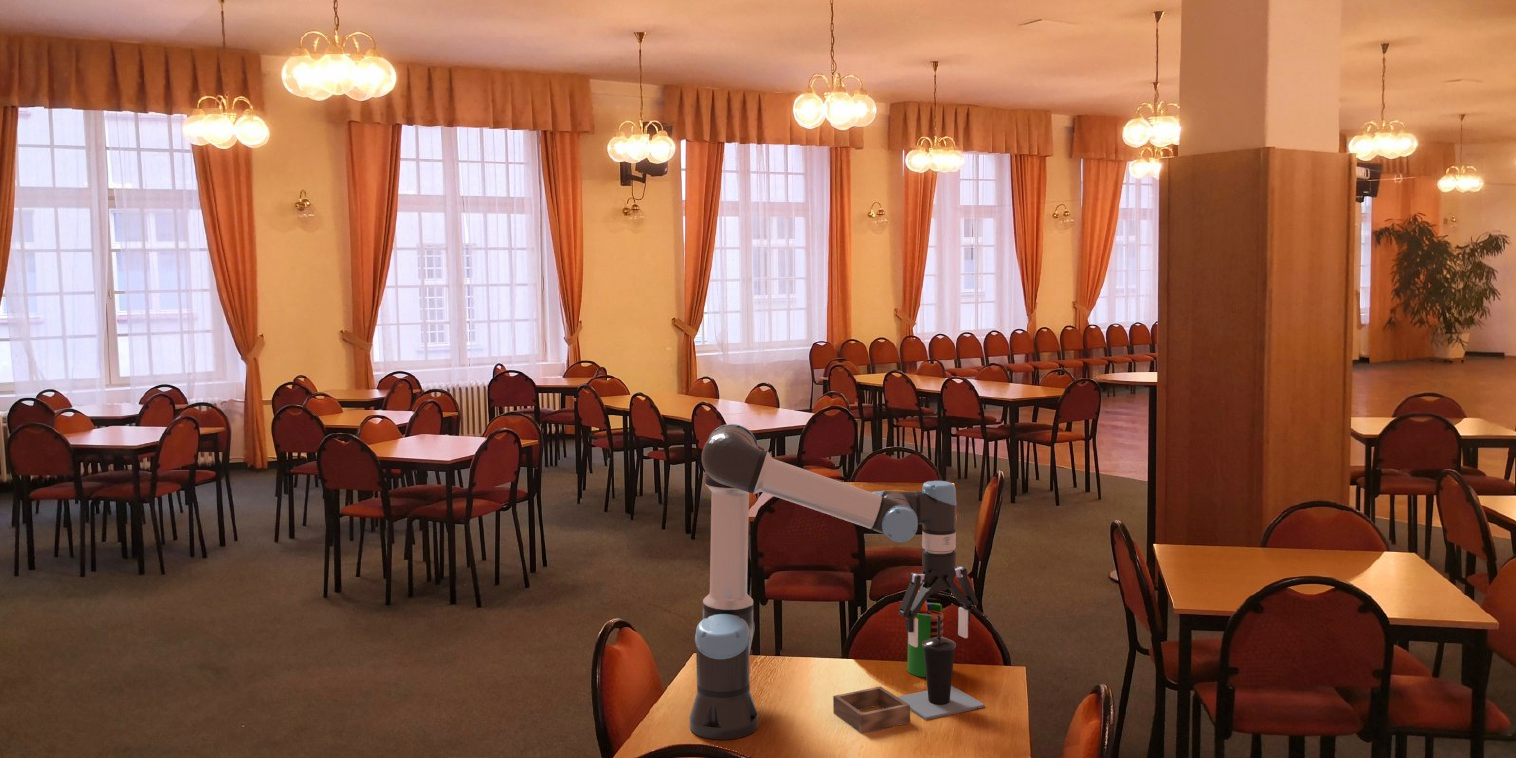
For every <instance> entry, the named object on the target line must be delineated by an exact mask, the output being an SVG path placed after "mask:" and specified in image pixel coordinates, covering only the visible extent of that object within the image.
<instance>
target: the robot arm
mask: <svg viewBox="0 0 1516 758" xmlns="http://www.w3.org/2000/svg"><path fill="white" fill-rule="evenodd" d="M701 463H702V467H703V469H704V472H705V473H704V484H705V486H706V487H707V488H708V490H710V492H711V500H710V501H711V505H710V507H711V510H710V511H711V514H710V562H709V564H710V567H709V593H708V595H706V596H705V597H704V598H703V599H702V620H701V621H700V622H698V624H697V626H696V629H695V636H694V643H695V648H696V649H695V652H696V654H695V655H696V656H695V657H696V658H695V659H696V661H695V662H696V663H695V664H696V665H695V666H696V694H695V695H696V696H695V698H694V702H693V704H692V708H691V711H690V715H689V729H690V731H691V732H692V733H693V734H694V735H697V736H699V737H702V738H704V739H708V740H709V739H710V740H719V741H721V740H734V739H738V738H742V737H746V736H749V735H751V734H752V733H754V732H755V731H756V730H757V729H758V728H759V713H758V710H757V708H756V704H755V702H754V699H753V696H752V693H751V683H750V681H751V680H750V679H751V677H750V671H751V670H750V669H751V668H750V655H751V653H750V652H751V647H752V642H753V638H754V635H755V622H754V599H753V598H752V597H751V596H750V595H749V594H748V566H749V565H748V562H749V561H748V560H749V520H750V519H749V511H750V494H751V495H755V494H758V493H763V494H767V495H770V496H773V497H775V498H779V499H781V500H784V501H788V502H790V503H794V504H796V505H799V506H802V507H805V508H808V509H811V510H814V511H817V512H818V513H819V512H820V513H823V514H827V515H829V516H831V517H833V518H834V517H835V518H836V519H837V518H838V519H840V520H844V521H846V522H848V523H849V522H850V523H852V524H855V525H857V526H860V527H861V526H862V527H864V528H867V529H869V530H873V531H875V532H878V533H880V534H883V535H885V537H886V538H888V539H889V540H891V541H892V542H895V543H905V542H908V541H910V540H911V539H912V538H913V537H914V536H915V535H916V533H917V531H918V526H919V525H922V537H921V540H922V541H921V547H922V549H923V550H922V553H921V554H922V555H921V556H922V557H921V558H922V559H921V560H922V561H921V564H922V569H923V570H922V573H916V572H911V573H910V579H909V582H908V583H909V584H908V587H907V588H906V591H905V594H904V596H903V598H902V601H901V603H900V606H899V608H898V611H897V613H898V615H900V616H902V617H904V618H905V630H906V632H907V645H908V644H910V645H912V646H913V647H918V618H916V617H915V616H916V615H917V613H918V612H919V610H920V609H921V607H922V606H923V604H924V603H925V601H927V600H928V598H929V597H930V596H931V595H932V594H933V593H934V592H940V591H949V592H950V593H951V594H952V595H953V597H954V598H955V600H956V601H957V602H958V603H959V604H960V606H959V607H958V613H957V615H958V620H957V621H958V623H957V624H958V626H957V636H960V637H962V638H964V639H968V638H969V623H970V622H971V611H973V610H974V609H975V608H974V606H978V605H979V601H978V599H977V596H976V593H975V592H974V590H973V587H972V584H971V583H970V581H969V578H968V570H967V568H966V567H963V566H960V565H957V567H956V564H957V558H956V557H957V556H956V555H957V552H956V551H955V550H956V548H957V547H956V546H957V543H956V541H957V534H956V533H957V505H958V503H957V488H956V486H955V484H953V483H952V482H950V481H946V480H928V481H926V482H923V485H922V488H921V490H918V491H917V490H916V491H915V490H910V491H909V490H907V491H905V490H878V491H872V492H871V491H868V490H865V489H863V488H860V487H856V486H854V485H851V484H849V483H848V484H847V483H845V482H842V481H839V480H836V479H834V478H831V477H827V476H824V475H822V474H819V473H816V472H813V471H810V470H807V469H805V468H801V467H798V466H796V465H792V464H789V463H786V462H784V461H781V460H778V459H775V458H773V457H772V456H771V454H770V452H769V451H766V450H763V449H761V448H759V444H758V441H757V439H756V436H755V435H754V434H753V432H752V431H750V430H749V429H748V427H745V426H744V425H740V424H737V423H728V424H727V423H726V424H723V425H720V426H718V427H717V428H715V429H714V430H713V431H712V432H711V433H710V434H709V437H708V438H707V441H706V442H705V444H704V446H703V449H702V451H701ZM955 577H957V581H958V582H959V584H960V587H961V589H962V591H963V593H962V591H961V590H960V589H959V588H958V586H957V584H956V583H955V581H954V579H955ZM918 590H920V591H919V592H918ZM917 593H918V594H917ZM908 632H909V633H908Z"/></svg>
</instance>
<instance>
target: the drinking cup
mask: <svg viewBox="0 0 1516 758" xmlns="http://www.w3.org/2000/svg"><path fill="white" fill-rule="evenodd" d="M922 646H923V648H924V658H925V669H926V688H927V689H926V691H927V690H928V700H929V702H930V703H932V704H936V705H944V704H948V703H949V702H950V692H951V685H952V681H953V669H954V668H953V667H954V657H955V648H956V647H957V643H956V641H954V640H952V639H949V638H947V637H944V636H943V637H940V616H937V637H932V638H929V639H926V640H924V641H923V642H922Z"/></svg>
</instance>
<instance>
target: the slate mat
mask: <svg viewBox="0 0 1516 758" xmlns="http://www.w3.org/2000/svg"><path fill="white" fill-rule="evenodd" d="M897 697H898V698H900V699H901V700H903V701H904V702H906V703H907V704H909V705H910V712H912V713H914V714H916V715H917V716H918V717H920V718H922V719H923V720H925V721H927V720H932V719H936V718H940V717H945V716H950V715H955V714H959V713H963V712H967V711H972V710H977V708H978V709H981V708H982V709H983V708H985V707H986V706H985V705H986V704H985V703H982V702H981V701H980V700H978V699H976V698H975V697H973V696H971V695H969V694H967V693H965V692H963V691H962V690H960V689H959V688H957V687H955V686H954V685H952V684H951V692H950V702H949V703H948V704H944V705H936V704H932V703H930V702H929V700H928V690H927V689H926V690H922V691H918V692H917V691H916V692H913V693H908V694H903V695H899V696H897Z"/></svg>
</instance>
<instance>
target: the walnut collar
mask: <svg viewBox="0 0 1516 758" xmlns="http://www.w3.org/2000/svg"><path fill="white" fill-rule="evenodd" d="M832 697H833V699H832V700H833V707H832V708H833V710H832V711H833V714H834V715H836V716H837V717H838V718H840V720H842V721H844V722H845V723H847V724H848V725H849V726H850V727H852V728H854V730H856V731H858V732H859V733H860V734H864V733H870V732H874V731H879V730H883V729H888V728H893V727H897V726H901V725H905V724H906V725H907V724H910V723H911V710H910V705H909V704H907V703H906V702H904V701H903V700H901V699H900V698H898V696H896V695H895V694H893V693H891V692H890V691H889V690H887V689H886V688H884V687H882V686H875V687H871V688H866V689H861V690H856V691H855V690H854V691H852V692H851V691H850V692H846V693H842V694H841V693H840V694H837V695H832ZM873 707H881V708H882V709H876V710H871V711H867V712H862V711H861V710H864V709H869V708H873Z"/></svg>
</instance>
